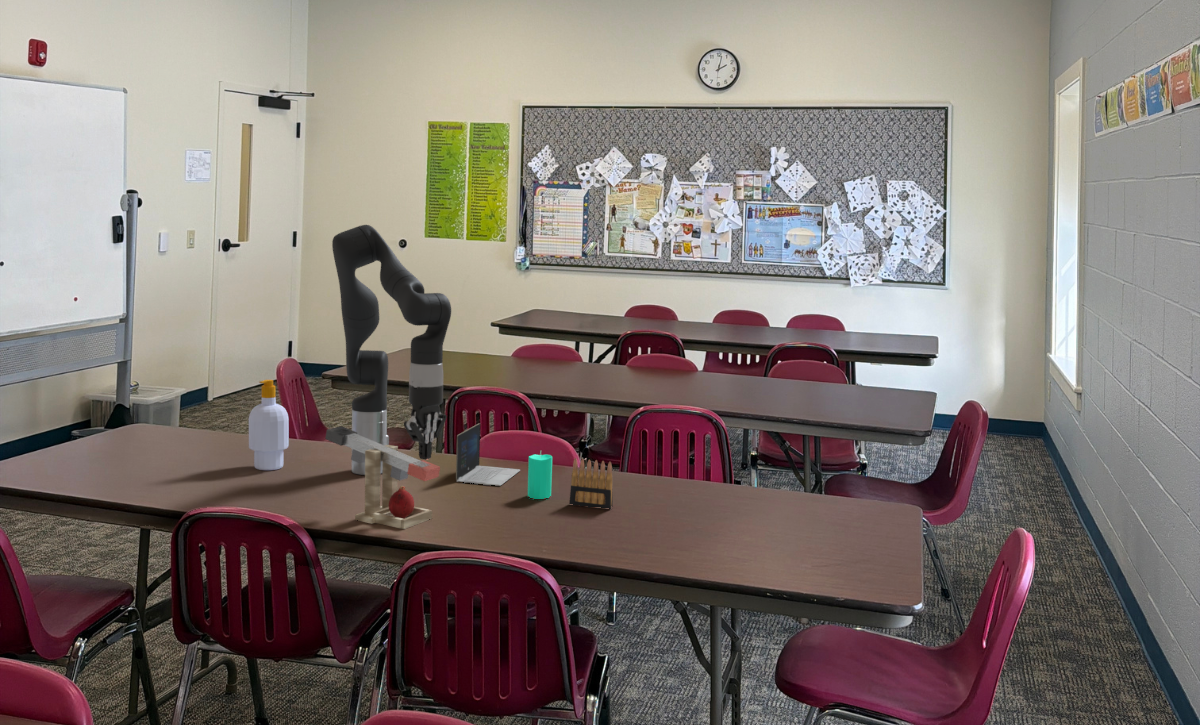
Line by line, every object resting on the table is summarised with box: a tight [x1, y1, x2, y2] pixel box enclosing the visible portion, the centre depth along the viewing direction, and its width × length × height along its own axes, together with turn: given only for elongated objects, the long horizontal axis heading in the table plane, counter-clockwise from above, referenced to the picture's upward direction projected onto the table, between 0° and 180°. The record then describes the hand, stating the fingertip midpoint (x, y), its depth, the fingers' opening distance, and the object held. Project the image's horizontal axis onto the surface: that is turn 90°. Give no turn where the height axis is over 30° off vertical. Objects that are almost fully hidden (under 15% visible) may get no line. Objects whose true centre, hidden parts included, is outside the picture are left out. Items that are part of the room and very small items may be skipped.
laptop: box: [455, 422, 521, 487], centre depth 273 cm, size 18×12×13 cm
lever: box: [325, 425, 441, 482], centre depth 232 cm, size 30×5×5 cm, turn 62°
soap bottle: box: [248, 379, 290, 471], centre depth 273 cm, size 10×10×24 cm
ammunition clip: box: [568, 457, 614, 510], centre depth 248 cm, size 11×2×12 cm, turn 75°
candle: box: [527, 450, 553, 500], centre depth 255 cm, size 6×6×12 cm
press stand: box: [354, 444, 433, 530], centre depth 231 cm, size 14×12×16 cm
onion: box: [389, 485, 415, 519], centre depth 231 cm, size 6×6×8 cm
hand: (425, 458), depth 226 cm, fingers closed
